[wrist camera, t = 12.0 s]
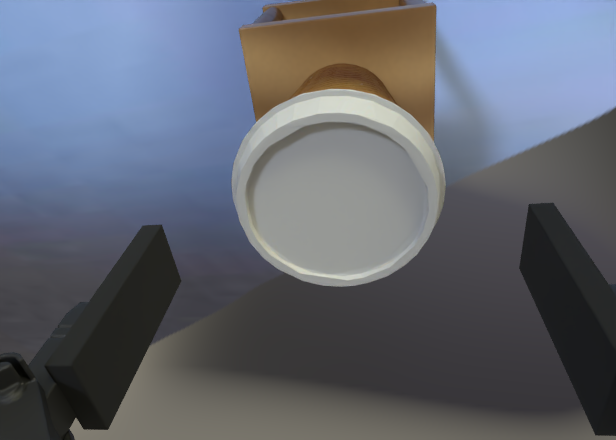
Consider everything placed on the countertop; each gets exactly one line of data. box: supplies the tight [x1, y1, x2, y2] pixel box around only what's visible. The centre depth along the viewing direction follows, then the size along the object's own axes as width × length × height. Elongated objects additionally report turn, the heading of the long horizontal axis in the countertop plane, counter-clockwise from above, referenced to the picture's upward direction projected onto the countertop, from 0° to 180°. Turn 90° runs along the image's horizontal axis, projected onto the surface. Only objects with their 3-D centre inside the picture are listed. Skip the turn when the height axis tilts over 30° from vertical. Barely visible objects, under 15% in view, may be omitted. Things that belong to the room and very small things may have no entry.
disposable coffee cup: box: [231, 63, 446, 287], centre depth 25 cm, size 10×10×12 cm
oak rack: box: [239, 0, 436, 142], centre depth 34 cm, size 12×12×10 cm
